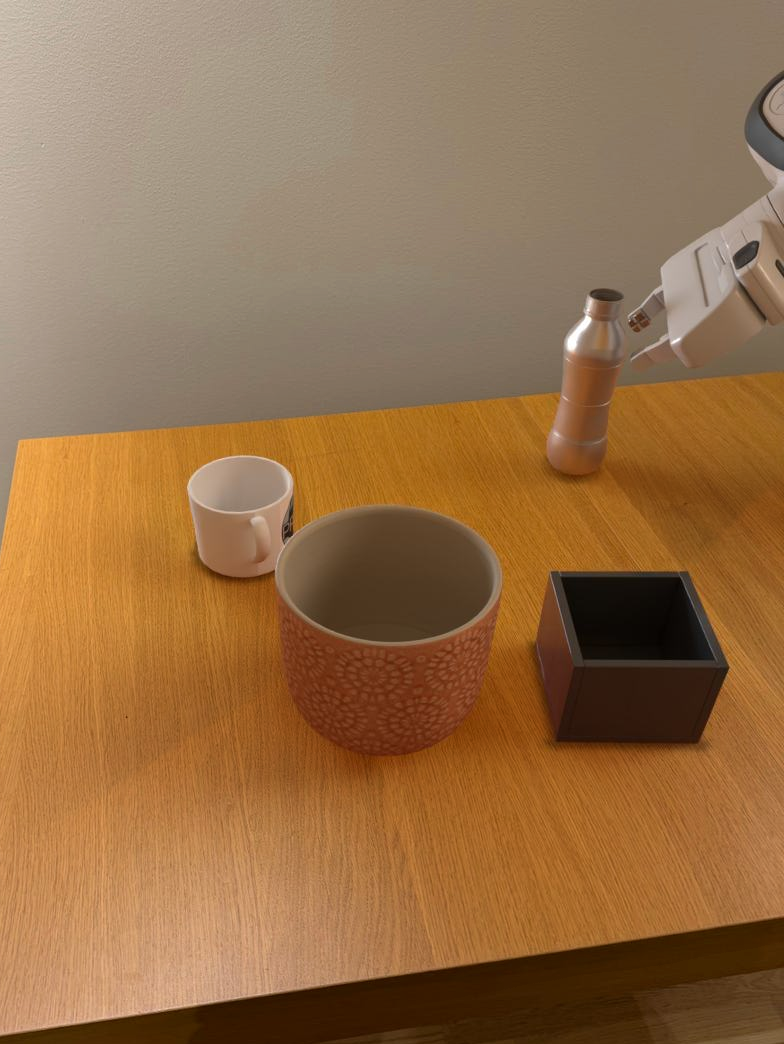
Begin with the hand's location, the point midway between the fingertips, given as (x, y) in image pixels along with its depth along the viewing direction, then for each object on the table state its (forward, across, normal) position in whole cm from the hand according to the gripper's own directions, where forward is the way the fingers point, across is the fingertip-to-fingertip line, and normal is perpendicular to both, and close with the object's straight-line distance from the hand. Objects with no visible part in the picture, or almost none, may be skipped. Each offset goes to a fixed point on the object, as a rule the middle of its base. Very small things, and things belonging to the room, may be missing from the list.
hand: (632, 344), depth 96 cm
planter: (+24, +43, -3) cm, 49 cm away
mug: (+36, +24, -15) cm, 46 cm away
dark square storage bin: (+10, +37, +11) cm, 40 cm away
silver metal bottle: (+13, +1, +8) cm, 15 cm away
